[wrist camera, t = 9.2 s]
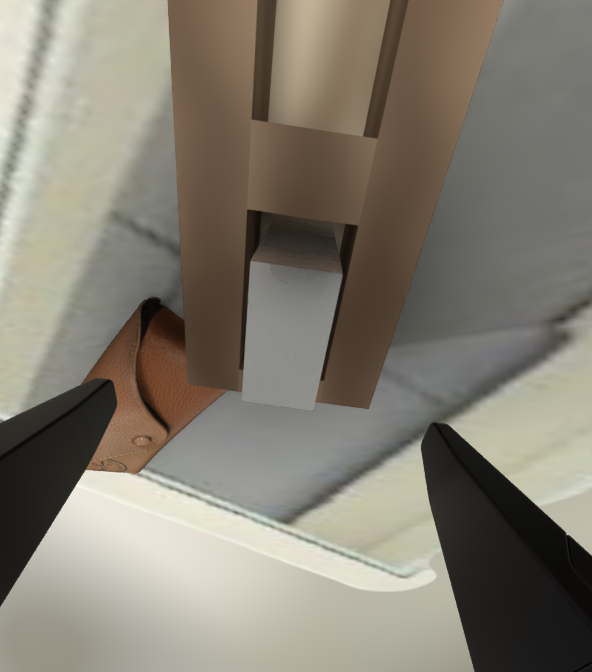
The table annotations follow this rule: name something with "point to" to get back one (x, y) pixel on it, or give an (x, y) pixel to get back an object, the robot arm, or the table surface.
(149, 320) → the sunglasses case
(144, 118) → the table surface
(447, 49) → the post block
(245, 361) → the grey block
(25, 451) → the robot arm
